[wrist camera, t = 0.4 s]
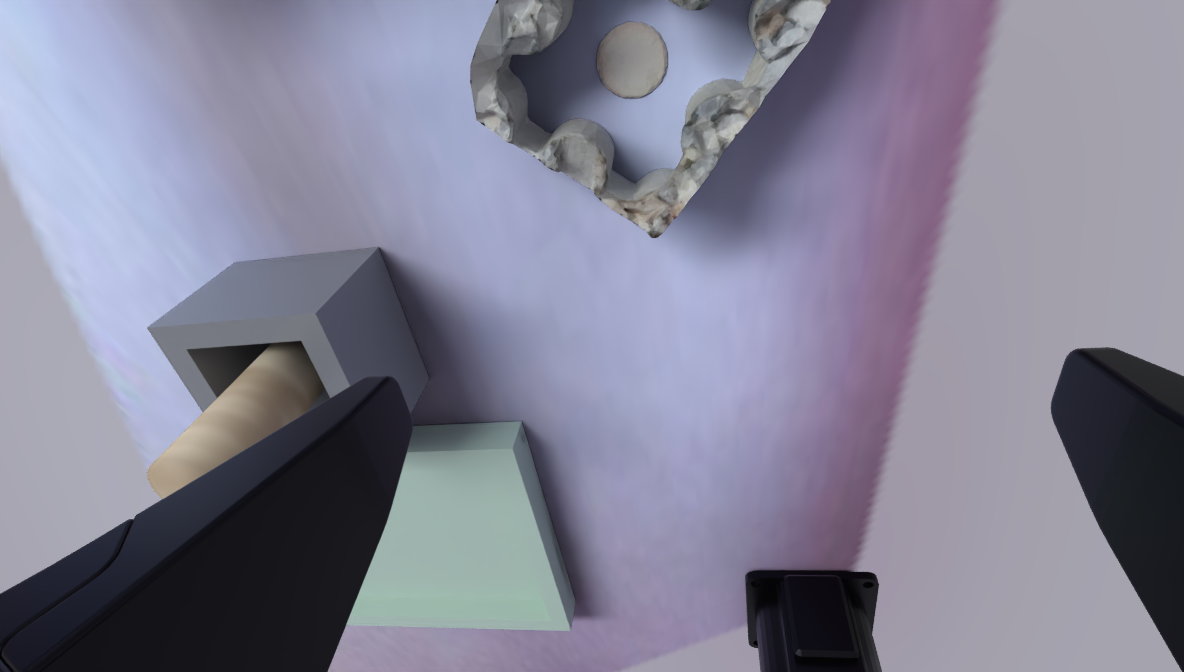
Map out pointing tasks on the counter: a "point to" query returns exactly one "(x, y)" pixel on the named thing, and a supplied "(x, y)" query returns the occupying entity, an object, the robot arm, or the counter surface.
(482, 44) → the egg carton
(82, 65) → the counter surface
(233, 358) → the grey square sleeve
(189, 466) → the dowel pin
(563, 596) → the tray
